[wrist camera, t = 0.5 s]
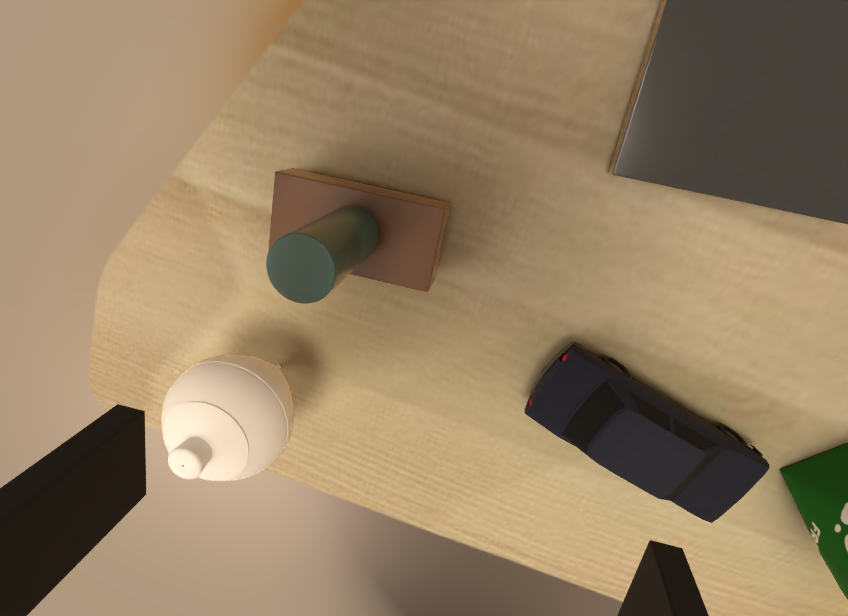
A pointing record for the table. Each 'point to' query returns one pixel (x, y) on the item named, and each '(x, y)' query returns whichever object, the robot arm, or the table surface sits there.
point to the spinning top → (227, 418)
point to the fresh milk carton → (824, 505)
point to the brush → (349, 235)
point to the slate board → (744, 104)
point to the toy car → (643, 434)
